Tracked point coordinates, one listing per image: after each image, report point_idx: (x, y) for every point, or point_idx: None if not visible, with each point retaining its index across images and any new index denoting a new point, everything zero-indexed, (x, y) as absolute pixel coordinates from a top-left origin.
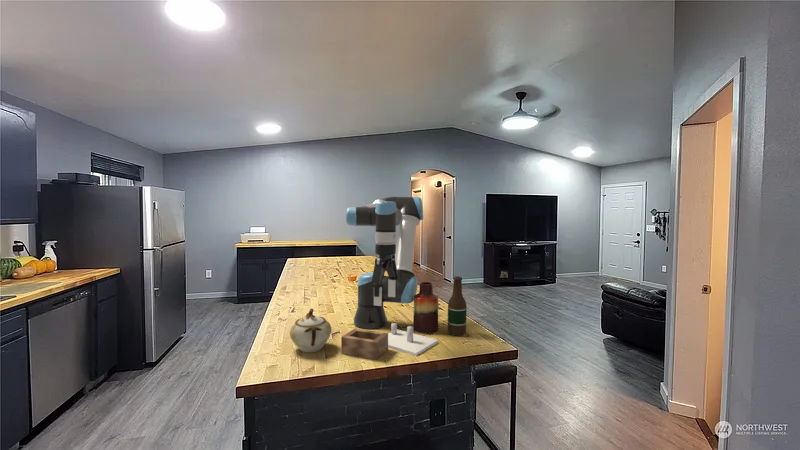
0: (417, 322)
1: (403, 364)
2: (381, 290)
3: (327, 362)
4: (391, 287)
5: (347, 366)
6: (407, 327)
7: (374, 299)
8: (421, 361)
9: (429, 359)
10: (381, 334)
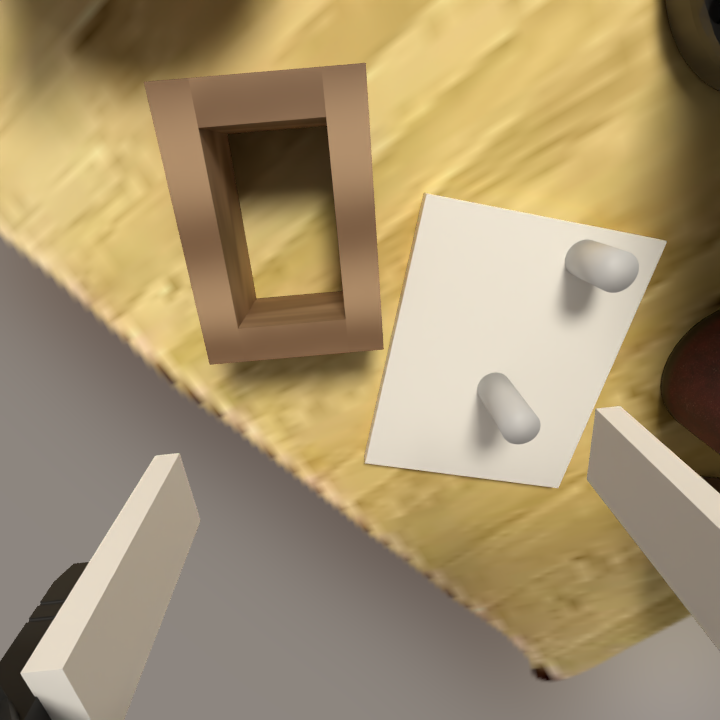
0: (716, 371)
1: (260, 445)
2: (122, 695)
3: (40, 98)
4: (666, 532)
5: (83, 238)
6: (512, 415)
7: (131, 509)
8: (325, 490)
9: (358, 507)
10: (346, 322)
